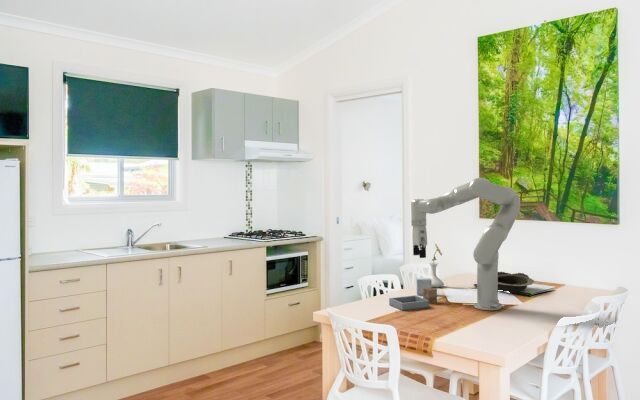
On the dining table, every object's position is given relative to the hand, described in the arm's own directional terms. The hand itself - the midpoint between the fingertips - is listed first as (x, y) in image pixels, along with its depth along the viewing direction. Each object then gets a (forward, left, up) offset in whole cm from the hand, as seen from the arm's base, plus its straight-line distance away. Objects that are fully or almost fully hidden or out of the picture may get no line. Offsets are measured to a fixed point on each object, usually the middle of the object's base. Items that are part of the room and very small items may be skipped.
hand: (419, 256), depth 273 cm
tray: (-7, +11, -23) cm, 27 cm away
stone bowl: (+1, -58, -24) cm, 63 cm away
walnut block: (-4, -3, -23) cm, 24 cm away
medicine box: (+13, -10, -24) cm, 29 cm away
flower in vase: (+29, -27, -23) cm, 46 cm away
